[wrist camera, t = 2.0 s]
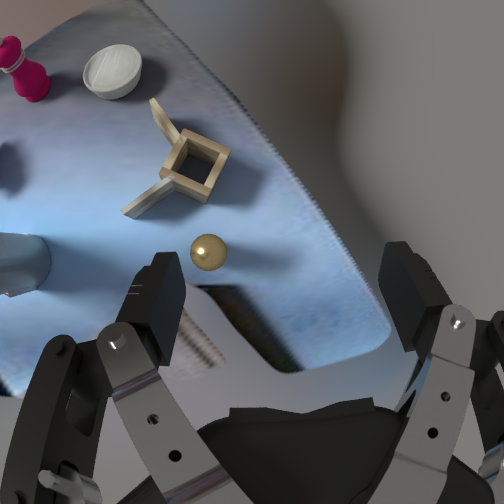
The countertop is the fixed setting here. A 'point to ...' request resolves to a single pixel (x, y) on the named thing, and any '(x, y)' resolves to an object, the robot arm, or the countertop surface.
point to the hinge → (169, 172)
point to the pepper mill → (23, 70)
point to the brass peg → (208, 252)
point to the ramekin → (113, 71)
